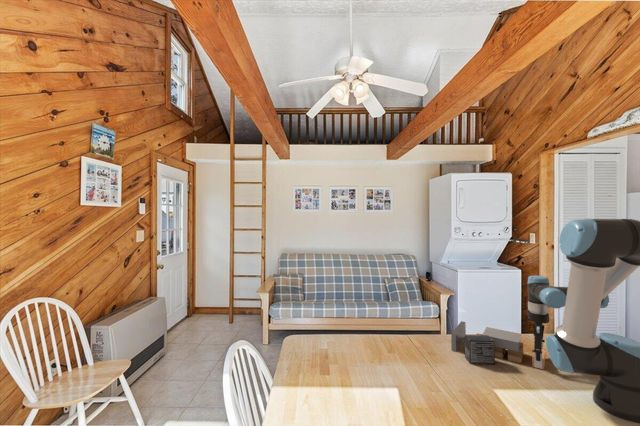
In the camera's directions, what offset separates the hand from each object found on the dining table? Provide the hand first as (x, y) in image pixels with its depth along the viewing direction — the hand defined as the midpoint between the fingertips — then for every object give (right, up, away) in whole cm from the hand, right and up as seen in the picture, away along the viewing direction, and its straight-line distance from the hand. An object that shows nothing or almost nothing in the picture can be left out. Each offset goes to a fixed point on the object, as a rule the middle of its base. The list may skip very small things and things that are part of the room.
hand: (538, 362), depth 132 cm
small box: (-25, -1, +2) cm, 25 cm away
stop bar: (-26, 0, +20) cm, 33 cm away
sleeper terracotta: (0, 0, 0) cm, 0 cm away
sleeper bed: (-12, 0, +9) cm, 16 cm away
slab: (-11, +5, +8) cm, 15 cm away
